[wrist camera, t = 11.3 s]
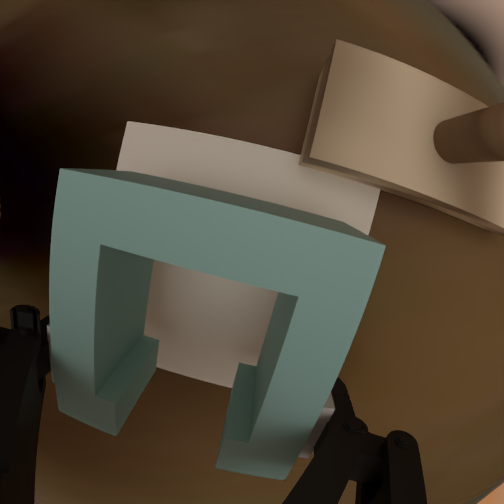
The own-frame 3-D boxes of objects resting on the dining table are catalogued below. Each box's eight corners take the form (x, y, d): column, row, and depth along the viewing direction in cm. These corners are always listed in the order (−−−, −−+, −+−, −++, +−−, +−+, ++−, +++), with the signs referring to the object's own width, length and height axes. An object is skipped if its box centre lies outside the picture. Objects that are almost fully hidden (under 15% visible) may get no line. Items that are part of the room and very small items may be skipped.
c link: (130, 171, 12) (60, 168, 8) (343, 222, 12) (385, 245, 7) (109, 353, 14) (58, 410, 10) (283, 402, 14) (284, 480, 9)
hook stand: (297, 165, 16) (357, 123, 5) (318, 77, 15) (385, -66, 3) (490, 232, 16) (632, 282, 4) (505, 157, 15) (646, 160, 3)
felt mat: (99, 343, 19) (97, 345, 18) (129, 122, 16) (127, 121, 15) (306, 400, 19) (307, 403, 18) (380, 180, 16) (382, 180, 15)
